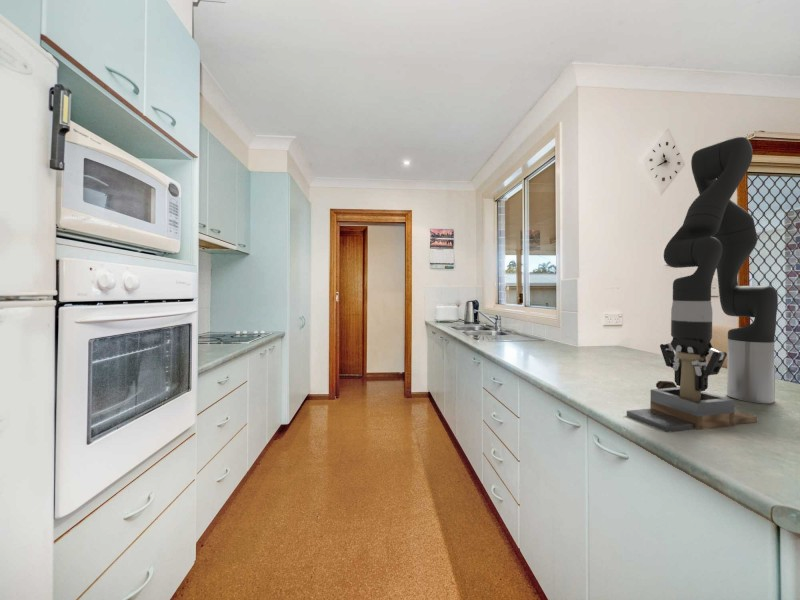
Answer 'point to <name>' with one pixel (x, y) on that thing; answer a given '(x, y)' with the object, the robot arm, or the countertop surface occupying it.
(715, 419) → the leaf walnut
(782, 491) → the countertop surface
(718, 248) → the robot arm
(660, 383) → the dark brown oblong lump
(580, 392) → the countertop surface
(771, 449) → the countertop surface
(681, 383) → the handle
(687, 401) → the grey storage bin
